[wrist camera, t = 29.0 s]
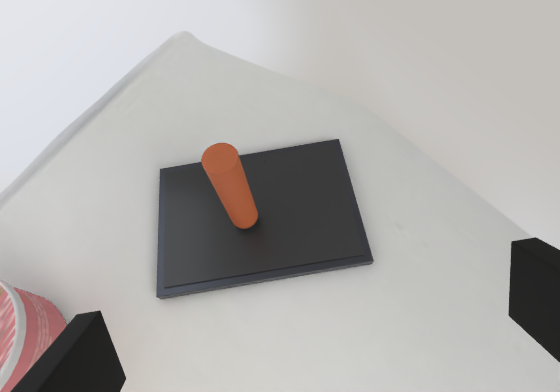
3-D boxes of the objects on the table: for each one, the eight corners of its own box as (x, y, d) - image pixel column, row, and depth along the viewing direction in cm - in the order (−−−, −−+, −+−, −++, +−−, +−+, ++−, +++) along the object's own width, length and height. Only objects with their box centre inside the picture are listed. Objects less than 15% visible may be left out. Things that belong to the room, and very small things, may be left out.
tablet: (338, 144, 38) (338, 137, 37) (371, 264, 31) (374, 260, 30) (163, 173, 38) (159, 167, 37) (160, 299, 31) (155, 296, 30)
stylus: (257, 206, 34) (236, 139, 24) (261, 230, 32) (239, 169, 23) (232, 210, 34) (200, 145, 24) (234, 234, 32) (201, 176, 23)
